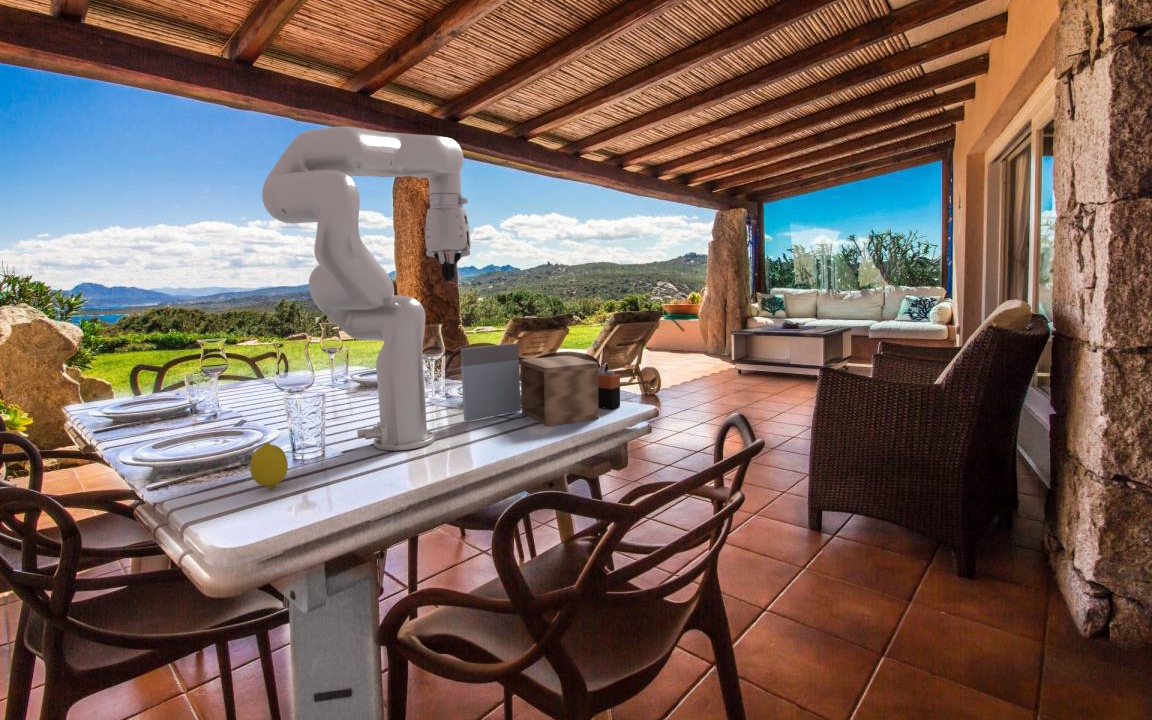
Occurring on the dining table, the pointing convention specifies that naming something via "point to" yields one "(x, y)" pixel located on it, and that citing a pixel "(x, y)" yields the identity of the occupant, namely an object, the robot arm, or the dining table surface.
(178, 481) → the dining table surface
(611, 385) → the battery
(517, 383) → the door
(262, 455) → the lemon
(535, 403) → the cubby
